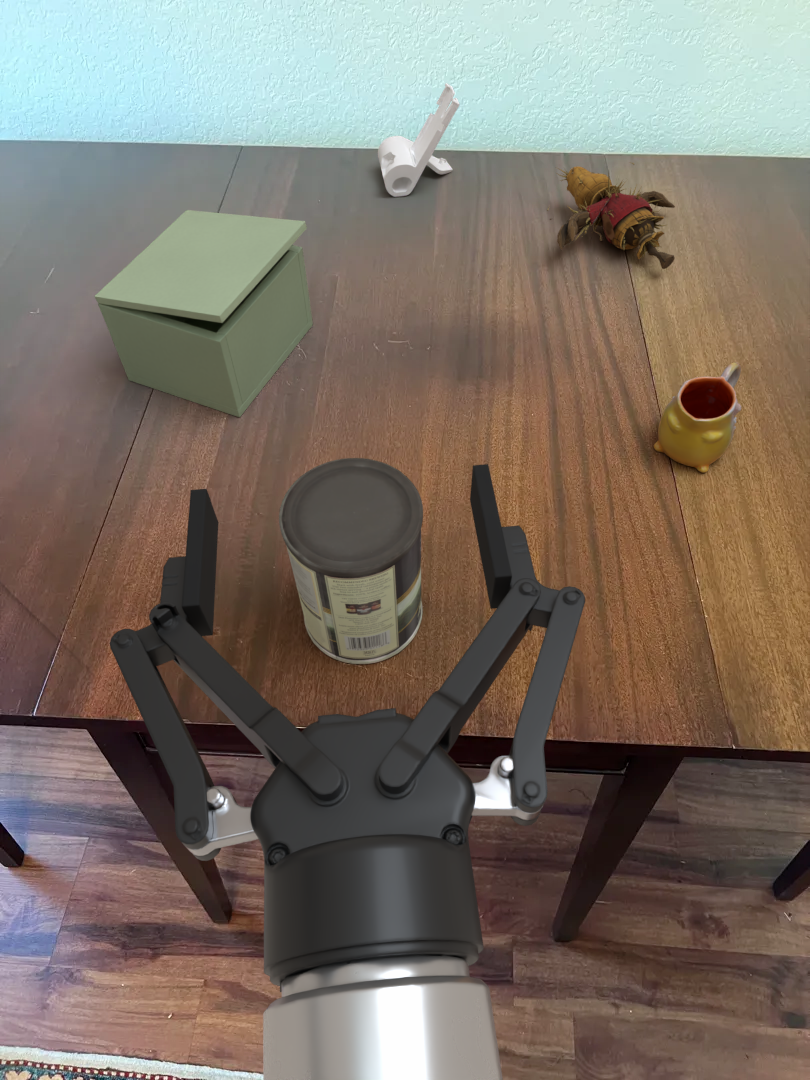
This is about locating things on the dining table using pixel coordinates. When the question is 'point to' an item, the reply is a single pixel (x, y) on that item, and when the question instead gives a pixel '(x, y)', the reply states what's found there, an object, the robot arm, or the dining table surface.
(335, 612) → the coffee can
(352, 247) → the dining table surface
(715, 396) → the mug
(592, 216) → the scarecrow
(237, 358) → the chest
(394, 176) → the plastic part
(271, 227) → the lid
